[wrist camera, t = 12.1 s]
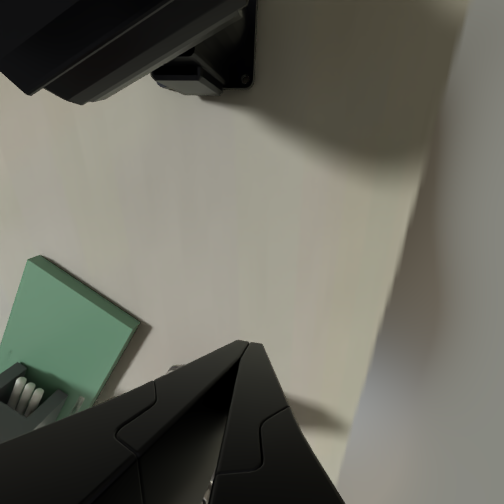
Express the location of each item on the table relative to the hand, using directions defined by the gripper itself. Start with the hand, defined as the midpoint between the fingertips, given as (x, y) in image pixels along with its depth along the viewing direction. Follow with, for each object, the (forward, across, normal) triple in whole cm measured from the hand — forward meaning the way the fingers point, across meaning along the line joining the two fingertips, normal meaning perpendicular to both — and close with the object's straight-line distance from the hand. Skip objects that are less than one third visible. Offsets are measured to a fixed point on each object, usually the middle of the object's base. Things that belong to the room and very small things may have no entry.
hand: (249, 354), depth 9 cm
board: (+13, -22, -15) cm, 29 cm away
